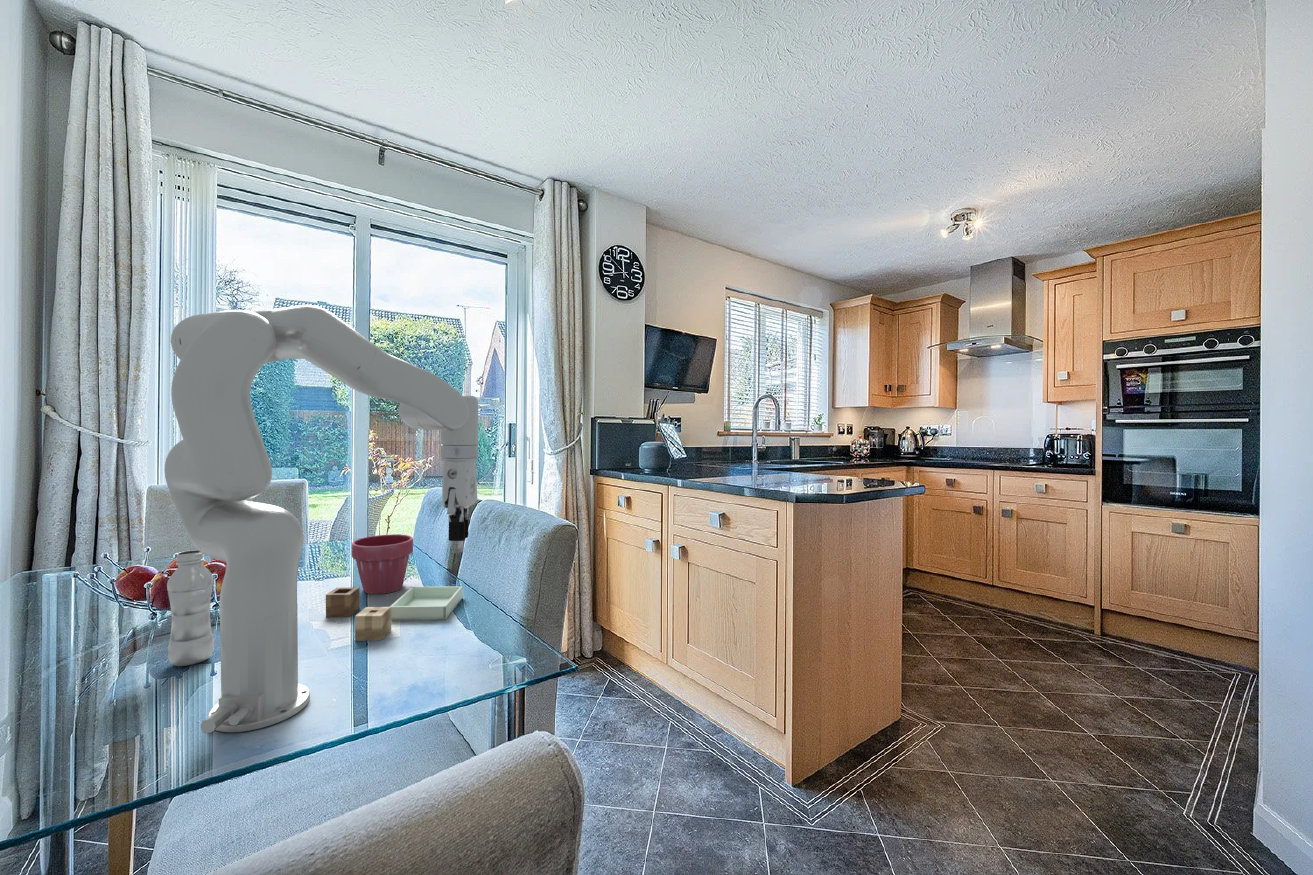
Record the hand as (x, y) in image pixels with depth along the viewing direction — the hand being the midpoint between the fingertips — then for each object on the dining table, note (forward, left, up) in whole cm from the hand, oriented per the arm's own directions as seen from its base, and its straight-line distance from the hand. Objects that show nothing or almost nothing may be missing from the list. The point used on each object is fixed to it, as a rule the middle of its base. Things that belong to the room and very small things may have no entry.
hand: (458, 538), depth 117 cm
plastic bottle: (-15, +43, -19) cm, 49 cm away
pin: (0, 0, -3) cm, 3 cm away
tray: (+11, +10, -19) cm, 24 cm away
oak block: (-4, +16, -19) cm, 25 cm away
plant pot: (+26, +26, -19) cm, 41 cm away
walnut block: (+9, +28, -19) cm, 35 cm away
